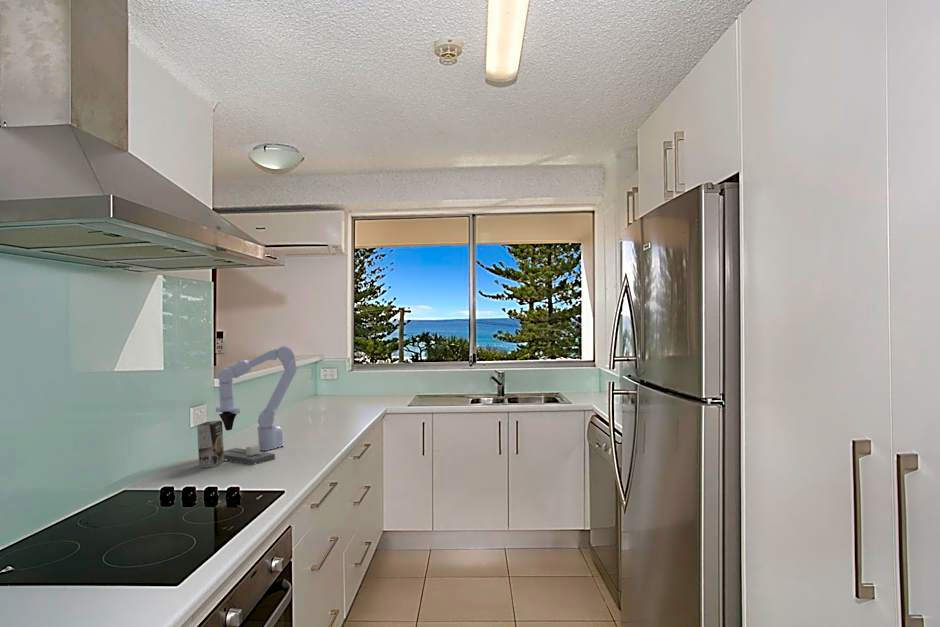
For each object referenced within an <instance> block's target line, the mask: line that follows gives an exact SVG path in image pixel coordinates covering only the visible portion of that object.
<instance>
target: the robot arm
mask: <svg viewBox="0 0 940 627" xmlns="http://www.w3.org/2000/svg"><path fill="white" fill-rule="evenodd" d="M277 360H279V361H280V363H281V364H282V367H283V368H284V370H283V373H282V375H281V377H280V379H279V380H278V383H277V385H276V387H275V389H274V391H273V393H272V394H271V397H270V399H269V400H268V402H267V404H266V406H265V408H264V409H263V410H262V411H261V412H260V413H259V415H258V418H257V423H258V425H259V426H257V437H258V438H257V440H258V446H260V451H263V450H265V451H264V452H267V451H270V449H271V450H275V449H278V448H277V447H279V448H282V447H281V446H283V447H285V445H284V441H283V430H282V428H281V426H279V425H276V424H275V423H274V420H275V415H276V413H277V411H278V408H279V406H280V404H281V402H282V401H283V398H284V396H285V395H286V392H287V391H288V389H289V387H290V385H291V383H292V381H293V378H294V377H295V375H296V373H297V365H296V358H295V354H294V352H293V350H292V348H291V347H290V346H288V345H282V346H280V347H276V348H273V349H270V350H268V351H266V352H264V353H261V354H259V355H258V356H255V357H254V358H252V359H249V360H246V359H239V360H237V362H236V363H234V364H231V365H230V364H229V365H226V367H225V368H223V369H221V370H219V371H218V374H217V379H218V380H219V382H218V386H219V387H218V393H219V406H218V407H215V412H216V413H219V414H218V415H219V417H220V419H221V421H222V424H223V426H224V429H225V431H227V432H228V431H233V428H234V427H233V426H234V422H235V419H236V416H237V415H238V414H241V408H238V407H237V406H236V405H235V404H236V403H235V387H234V382H233V380H234V379H238V378H240V377H242V376H244V375H246V374H248V373H250V372H251V371H252V368H254V367H255V366H258V365H261V364H263V363H264V362H267V361H277ZM274 448H275V449H274ZM266 450H267V451H266Z"/></svg>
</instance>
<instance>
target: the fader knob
mask: <svg viewBox="0 0 940 627" xmlns="http://www.w3.org/2000/svg"><path fill="white" fill-rule="evenodd" d="M245 449H246V455H250V456H252V455H256V454H260V452H261V450H260V446H259V444H256V445H250V446H246V447H245Z"/></svg>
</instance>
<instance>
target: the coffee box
mask: <svg viewBox="0 0 940 627" xmlns="http://www.w3.org/2000/svg"><path fill="white" fill-rule="evenodd" d="M196 427H197V429H196V430H197V431H196V432H197V448H198V468H216V467H217V466H219V465H221V464H222V463H224V462H225V460H224V451H225V450H224V448H225V447H224V432H223V421H222V420H212V421H205V422H203V423H201V424H200V423H199V424H198V425H196Z"/></svg>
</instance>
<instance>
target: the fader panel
mask: <svg viewBox="0 0 940 627" xmlns="http://www.w3.org/2000/svg"><path fill="white" fill-rule="evenodd" d="M224 459H227V460H226V461H229V460H232V461H231V462H234V461H238V462H237V463H240V462H243V463H242V464H246V463H249V464H248V465H251V464H254V465H256V464H255V463H258V464H260V462H261V463H264V462H263V461H265V462H268V461H267V460H269V461H272V460H271V459H273V460H275V459H276V454H275V453H271V452H267V451H260V454H256V455H252V456H250V455H246V448H239V447H235V448H230V449H226V450H224Z"/></svg>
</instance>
